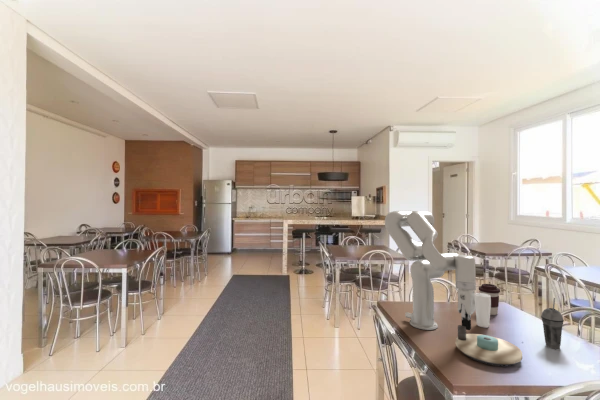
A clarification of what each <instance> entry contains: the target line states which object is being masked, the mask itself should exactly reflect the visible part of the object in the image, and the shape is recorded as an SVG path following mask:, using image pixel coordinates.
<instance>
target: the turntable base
mask: <svg viewBox="0 0 600 400" xmlns="http://www.w3.org/2000/svg"><path fill="white" fill-rule="evenodd" d="M463 355H465V356H466V357H467V358H469V359H472V360H473V361H475V362H478V363H481V364H485V365H488V366H495V367H511V366H512V365H514V364H497V363H491V362H486V361H482V360H479V359H476V358H473V357H471V356H469V355H467V354H465V353H463Z"/></svg>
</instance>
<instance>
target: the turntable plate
mask: <svg viewBox="0 0 600 400" xmlns="http://www.w3.org/2000/svg"><path fill="white" fill-rule="evenodd" d="M478 335H482V334H480V333H467V330H466V327H465V326H462V324H459V325H457V337H456V338H455V346H456V348H457V349H458V350H459V351H460V352H462V354H464V353H465V354H467V355H469V356H471V357H473V358H476V359H479V360H482V361H486V362H491V363H497V364H513V365H515V364H518V363H521V362H522V360H523V351H522V350H521V349H520V347H518V346H516V345H515V344H513V343H512V342H509V341H507V340H505V339H502V338H499V337H496V336H491V335H490V336H491V337H494V338H496V339H497V340H498V350H496V351H489V350H485V349H482V348H480V347H478V346H477V336H478ZM465 354H464V355H465Z"/></svg>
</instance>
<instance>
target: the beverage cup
mask: <svg viewBox="0 0 600 400" xmlns="http://www.w3.org/2000/svg"><path fill="white" fill-rule="evenodd" d="M555 304H556V298H555V297H553V303H552V307H549V308H548V307H547V308H545V309H544V310H543V311H542V312H541V316H540V317H541V322H542V325H543V326H542V327H543V336H544V343H545V346H546V347H547V348H550V349H553V350H561V343H562V333H563V332H562V331H563V327H564V321H565V320H564V317H563V315H562V313H561V312H560V311H559V310H557V309H556V308H555V306H556V305H555Z"/></svg>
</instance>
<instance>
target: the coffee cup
mask: <svg viewBox="0 0 600 400" xmlns="http://www.w3.org/2000/svg"><path fill="white" fill-rule="evenodd" d="M478 291H479V293H484V294H488V295H490V296H491V310H490V316H496V315H498V314H499V313H498V312H499V311H498V309H499V304H500V302H499V301H500V295H499V294H500V293H501V289H500V288H498V287H497V285H496V284H490V283H482V284H481V285H480V286H479V285H478Z"/></svg>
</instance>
